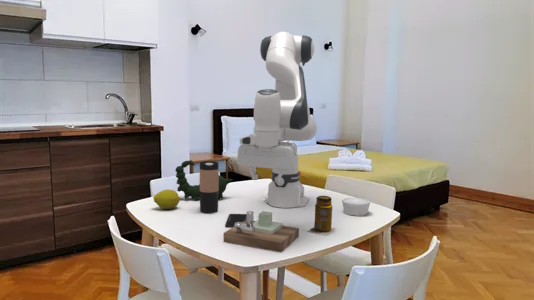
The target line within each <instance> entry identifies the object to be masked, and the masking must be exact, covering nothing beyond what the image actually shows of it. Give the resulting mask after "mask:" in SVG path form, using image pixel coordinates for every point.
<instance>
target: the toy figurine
mask: <svg viewBox="0 0 534 300" xmlns="http://www.w3.org/2000/svg"><path fill="white" fill-rule="evenodd" d="M190 165H191V166H193V167H194V166H195V163H194V162H193V161H191V160H185V161H183V162H182V163H181V165H179V166H177V167H176V168H175V169H174V170H175V172H176V173H175V177H176V178H177V180H176V184H177V185H178V187H177V188H176V189H177V192H178V193H180V192H183V194H184V199H185V200H186V199H189V197H190V198H192V199H193V200H194V201H198V200H199V199H200V183H198V184H194V185H191V184H190V183H189V182H188V179H187V177H186V172H185V170H184V169H185V168H186V167H188V166H190ZM232 181H234V179H233V178H224V177H223V176H222V175H220V174H219V195H218V200H222V198H223V196H224V195H223V193H224V192H225V191H226V190H227V186H228V184H229V183H231V182H232Z"/></svg>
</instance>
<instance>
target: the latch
mask: <svg viewBox="0 0 534 300" xmlns="http://www.w3.org/2000/svg"><path fill="white" fill-rule="evenodd" d="M254 213H255V212H254V211H252V210H247V211H246V214H247V224H243V223H242V222H236V223H235V228H241V229H245V230H249V231H254V230H255V226H253V221H255V220H254V218H255V217H254Z"/></svg>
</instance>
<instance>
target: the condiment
mask: <svg viewBox="0 0 534 300" xmlns="http://www.w3.org/2000/svg"><path fill="white" fill-rule="evenodd" d="M315 199H316V201H315V204H314V205H315V206H314V222H313V223H314V225H313V227H312V228H310V229H308V230H307V232H309V233H312V234H313V233H314V234H318V235H322V236H323V235H324V236H328V235H329V234H330V233H332V232H333V231H334V230H335V229H336V228H335V227H332V222H333V221H332V219H333V205H332V202H333V201H332V197H331V196H328V195H318V196H317V197H316V198H315Z"/></svg>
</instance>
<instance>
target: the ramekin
mask: <svg viewBox="0 0 534 300" xmlns="http://www.w3.org/2000/svg"><path fill="white" fill-rule="evenodd" d="M341 203H342V209H343V212H344V214H346V215H348V214H349V215H348V216H352V215H355V216H354V217H362V216H361V215H364V216H366V215H367V214H368V212H369V209H370V204H371V201H370V200H369V199H366V198H363V197H362V198H361V197H347V198H343V199H342V200H341Z"/></svg>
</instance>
